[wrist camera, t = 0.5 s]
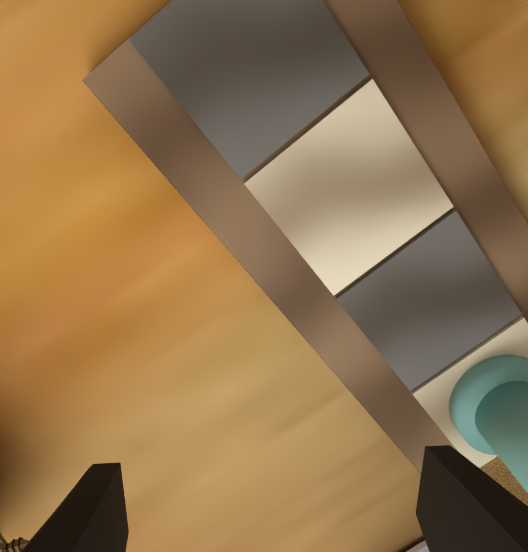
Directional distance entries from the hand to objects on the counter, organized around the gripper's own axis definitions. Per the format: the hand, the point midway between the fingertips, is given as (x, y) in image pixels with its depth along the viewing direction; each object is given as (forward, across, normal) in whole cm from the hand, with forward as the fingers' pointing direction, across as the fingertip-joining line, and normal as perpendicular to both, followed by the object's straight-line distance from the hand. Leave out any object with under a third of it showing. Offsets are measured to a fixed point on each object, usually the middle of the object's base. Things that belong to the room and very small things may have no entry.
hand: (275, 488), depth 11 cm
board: (+10, -6, -3) cm, 12 cm away
